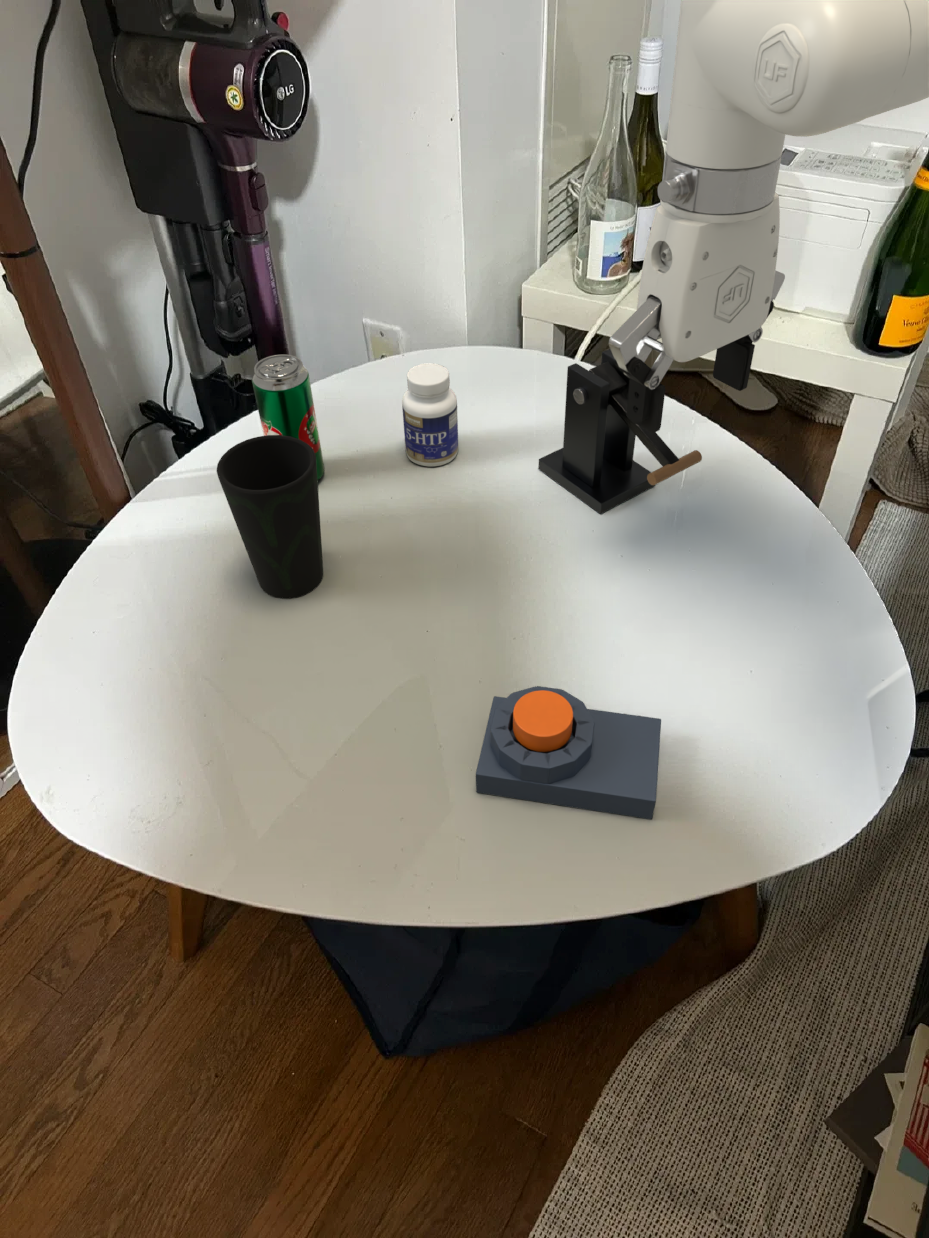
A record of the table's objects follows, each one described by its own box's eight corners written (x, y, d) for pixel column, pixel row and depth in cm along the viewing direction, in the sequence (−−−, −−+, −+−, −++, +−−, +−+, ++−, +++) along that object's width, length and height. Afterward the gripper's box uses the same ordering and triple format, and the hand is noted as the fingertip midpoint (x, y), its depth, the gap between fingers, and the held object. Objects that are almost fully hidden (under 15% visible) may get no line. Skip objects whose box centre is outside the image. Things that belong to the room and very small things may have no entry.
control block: (657, 737, 66) (664, 702, 64) (652, 819, 62) (659, 785, 59) (493, 714, 68) (493, 679, 66) (476, 792, 64) (474, 758, 61)
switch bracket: (655, 486, 87) (671, 375, 79) (600, 514, 85) (610, 402, 76) (592, 443, 93) (600, 335, 84) (538, 469, 90) (541, 359, 82)
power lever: (695, 468, 81) (707, 451, 79) (650, 492, 78) (660, 475, 76) (613, 373, 84) (621, 355, 82) (567, 393, 82) (575, 375, 80)
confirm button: (575, 710, 64) (576, 693, 63) (568, 756, 61) (569, 740, 60) (518, 702, 64) (518, 686, 63) (508, 747, 62) (508, 731, 61)
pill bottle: (401, 466, 91) (393, 386, 85) (411, 436, 95) (405, 357, 88) (454, 470, 90) (450, 390, 84) (462, 439, 94) (460, 361, 88)
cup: (353, 574, 80) (336, 459, 71) (285, 620, 76) (257, 505, 68) (296, 536, 84) (273, 423, 75) (228, 579, 80) (196, 465, 71)
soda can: (264, 474, 91) (239, 364, 82) (308, 455, 93) (289, 346, 84) (289, 499, 88) (266, 387, 79) (334, 478, 90) (317, 368, 81)
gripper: (666, 231, 56) (641, 464, 68) (847, 164, 63) (796, 386, 75) (585, 197, 61) (574, 422, 73) (762, 139, 68) (726, 352, 80)
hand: (687, 403), depth 74 cm, fingers open, 9 cm apart
